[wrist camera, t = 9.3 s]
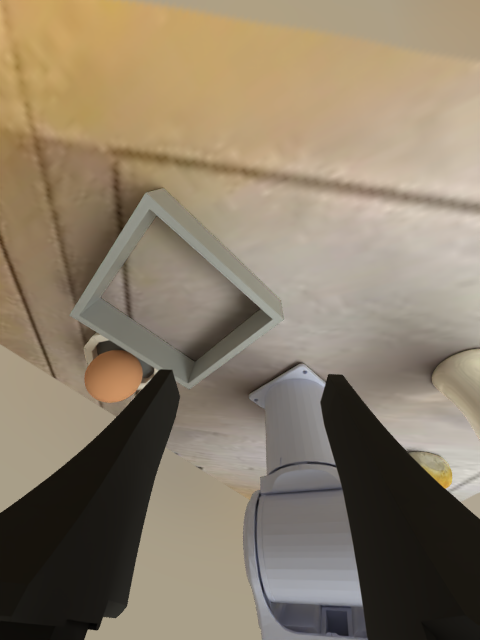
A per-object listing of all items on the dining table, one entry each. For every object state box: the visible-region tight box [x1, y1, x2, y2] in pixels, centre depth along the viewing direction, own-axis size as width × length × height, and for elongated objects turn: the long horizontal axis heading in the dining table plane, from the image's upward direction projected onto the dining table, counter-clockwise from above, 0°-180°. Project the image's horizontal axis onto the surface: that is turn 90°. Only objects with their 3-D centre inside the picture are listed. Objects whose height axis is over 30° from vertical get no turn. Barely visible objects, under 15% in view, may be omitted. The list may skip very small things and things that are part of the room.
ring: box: [84, 332, 158, 389], centre depth 25 cm, size 8×8×1 cm
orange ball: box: [84, 350, 143, 403], centre depth 23 cm, size 5×5×5 cm
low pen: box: [70, 188, 284, 389], centre depth 19 cm, size 12×12×3 cm
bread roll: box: [409, 452, 452, 488], centre depth 33 cm, size 8×9×4 cm
